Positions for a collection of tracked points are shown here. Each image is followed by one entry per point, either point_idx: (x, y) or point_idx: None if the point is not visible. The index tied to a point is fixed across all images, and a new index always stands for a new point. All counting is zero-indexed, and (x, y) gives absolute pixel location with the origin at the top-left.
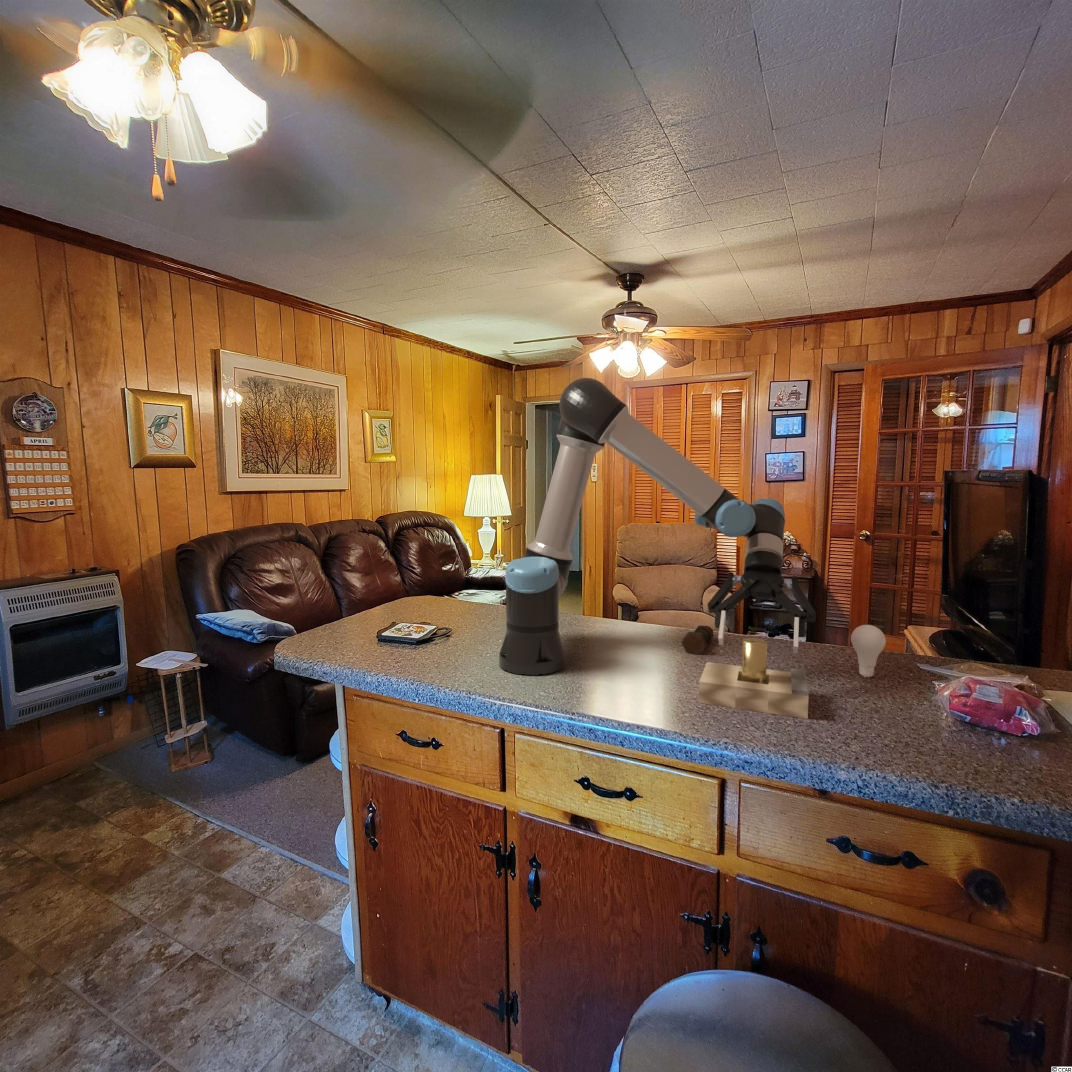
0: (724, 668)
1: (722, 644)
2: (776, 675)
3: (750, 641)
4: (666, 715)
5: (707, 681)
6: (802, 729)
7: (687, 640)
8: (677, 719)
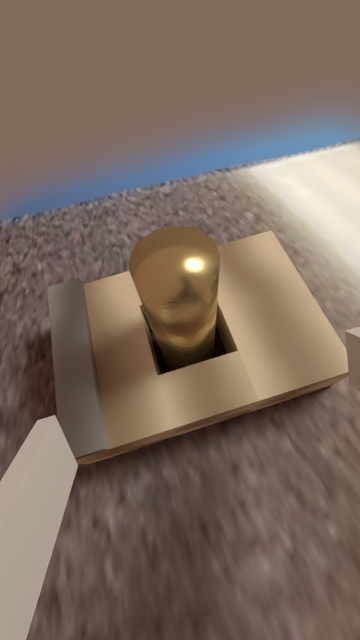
0: (281, 346)
1: (350, 377)
2: (138, 385)
3: (186, 247)
4: (270, 196)
5: (258, 241)
6: (77, 275)
7: None
8: (249, 196)
